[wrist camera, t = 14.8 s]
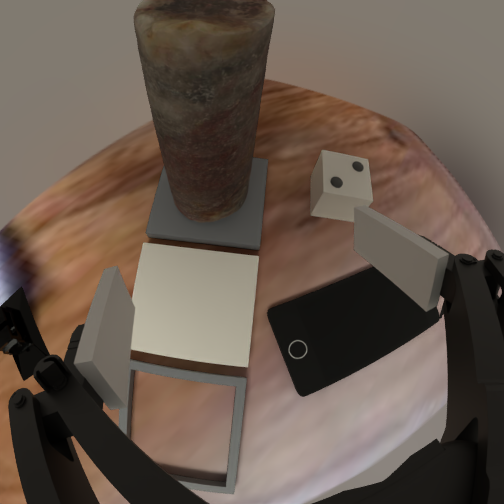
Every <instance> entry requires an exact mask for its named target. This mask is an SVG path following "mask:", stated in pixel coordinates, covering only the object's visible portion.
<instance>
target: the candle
mask: <svg viewBox="0 0 504 504" xmlns="http://www.w3.org/2000/svg"><path fill="white" fill-rule="evenodd" d="M274 14H275V9H274V7H273V6H272V4H271V3H269V2H268V1H267V0H143V1H142V2H141V3H140V4H139V5H138V7H137V10H136V12H135V14H134V26H135V32H136V37H137V42H138V50H139V55H140V59H141V64H142V70H143V74H144V80H145V86H146V90H147V95H148V99H149V103H150V108H151V112H152V117H153V122H154V125H155V130H156V134H157V138H158V142H159V146H160V150H161V154H162V158H163V162H164V166H165V170H166V174H167V178H168V182H169V186H170V190H171V193H172V196H173V199H174V203H175V205H176V207H177V208H178V210H179V211H180V212H181V213H182V214H183V215H184V216H185V217H187V218H188V219H190V220H193V221H196V222H199V223H205V222H214V221H217V220H220V219H222V218H225V217H227V216H230V215H231V214H233V213H234V212H236V211H238V210H239V209H240V208H241V207H242V205H243V204H244V202H245V199H246V197H247V193H248V187H249V181H250V174H251V168H252V159H253V152H254V145H255V138H256V130H257V124H258V117H259V111H260V102H261V95H262V89H263V83H264V78H265V71H266V63H267V55H268V49H269V43H270V39H271V34H272V28H273V22H274Z"/></svg>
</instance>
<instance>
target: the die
mask: <svg viewBox="0 0 504 504" xmlns="http://www.w3.org/2000/svg"><path fill="white" fill-rule="evenodd" d="M372 202H373V195H372V186H371V178H370V170H369V163H368V159H364V158H360V157H356V156H351V155H347V154H342V153H337V152H332V151H327V150H322V151H321V153H320V156H319V158H318V160H317V163H316V165H315V167H314V169H313V172H312V174H311V191H310V215H311V216H317V217H324V218H330V219H337V220H343V221H349V222H354V207H358V206H362V205H366V206H369V205H370V204H371V203H372Z"/></svg>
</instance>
